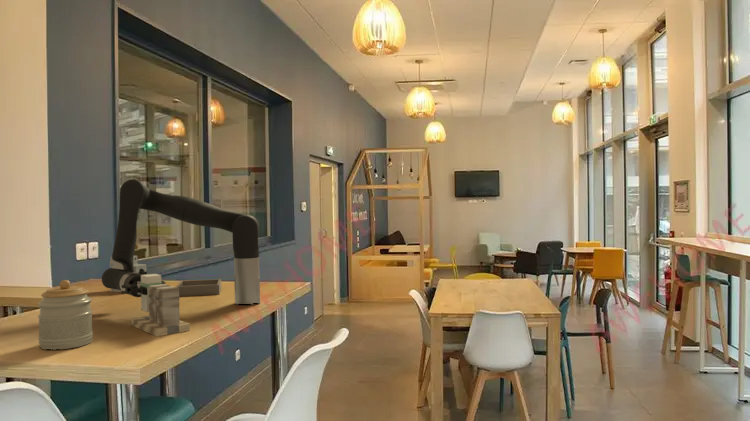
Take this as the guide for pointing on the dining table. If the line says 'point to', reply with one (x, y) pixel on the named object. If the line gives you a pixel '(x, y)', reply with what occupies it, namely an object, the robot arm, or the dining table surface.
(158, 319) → the grey marble bookend
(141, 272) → the circuit breaker
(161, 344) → the dining table surface
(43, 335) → the jar
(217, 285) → the coaster tray
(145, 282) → the block
